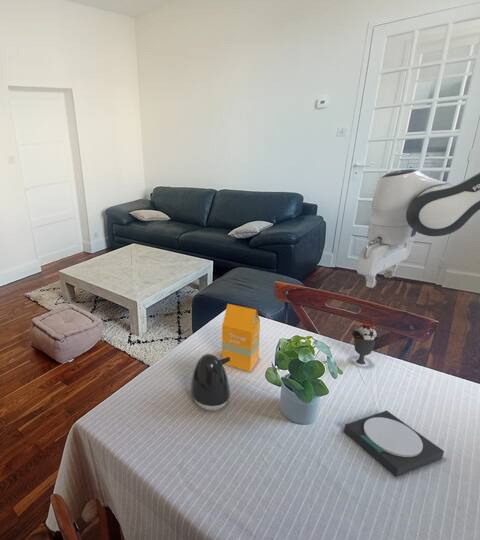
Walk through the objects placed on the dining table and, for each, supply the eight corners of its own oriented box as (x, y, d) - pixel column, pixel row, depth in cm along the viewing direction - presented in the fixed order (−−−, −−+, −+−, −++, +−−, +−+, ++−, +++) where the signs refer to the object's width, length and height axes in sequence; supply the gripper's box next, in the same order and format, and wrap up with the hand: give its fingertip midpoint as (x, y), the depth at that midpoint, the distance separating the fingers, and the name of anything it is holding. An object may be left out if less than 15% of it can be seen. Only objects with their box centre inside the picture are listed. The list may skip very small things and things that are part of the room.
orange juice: (250, 374, 101) (252, 315, 94) (221, 365, 106) (221, 308, 99) (258, 360, 106) (261, 304, 99) (231, 352, 112) (231, 298, 105)
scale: (384, 420, 81) (387, 408, 79) (441, 461, 70) (445, 448, 68) (343, 434, 78) (345, 422, 77) (395, 480, 67) (398, 466, 66)
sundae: (373, 360, 100) (381, 316, 95) (374, 373, 95) (383, 327, 90) (347, 355, 104) (353, 312, 99) (347, 367, 99) (353, 323, 94)
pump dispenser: (235, 415, 87) (236, 367, 81) (194, 418, 87) (192, 369, 82) (225, 388, 96) (225, 343, 91) (188, 391, 97) (186, 346, 92)
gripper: (381, 244, 82) (372, 296, 86) (421, 227, 90) (411, 275, 95) (353, 240, 87) (346, 288, 92) (393, 224, 96) (385, 269, 101)
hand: (379, 281), depth 94 cm, fingers open, 8 cm apart
